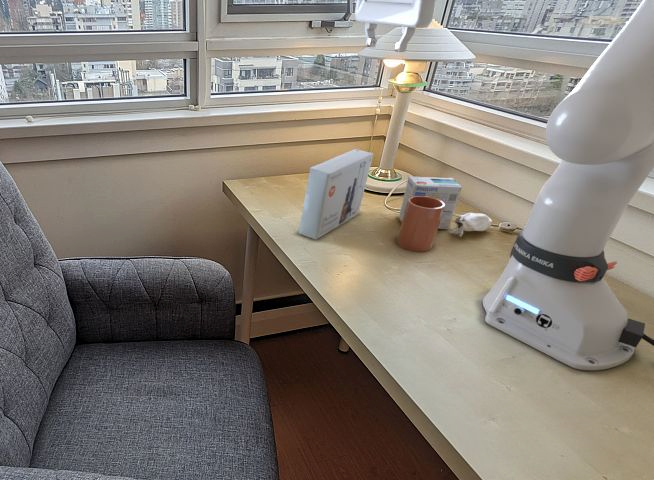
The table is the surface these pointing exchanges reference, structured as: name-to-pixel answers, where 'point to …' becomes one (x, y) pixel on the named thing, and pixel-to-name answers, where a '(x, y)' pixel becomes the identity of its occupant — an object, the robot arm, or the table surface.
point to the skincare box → (334, 192)
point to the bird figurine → (472, 223)
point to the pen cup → (420, 223)
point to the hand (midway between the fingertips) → (384, 49)
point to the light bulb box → (434, 195)
